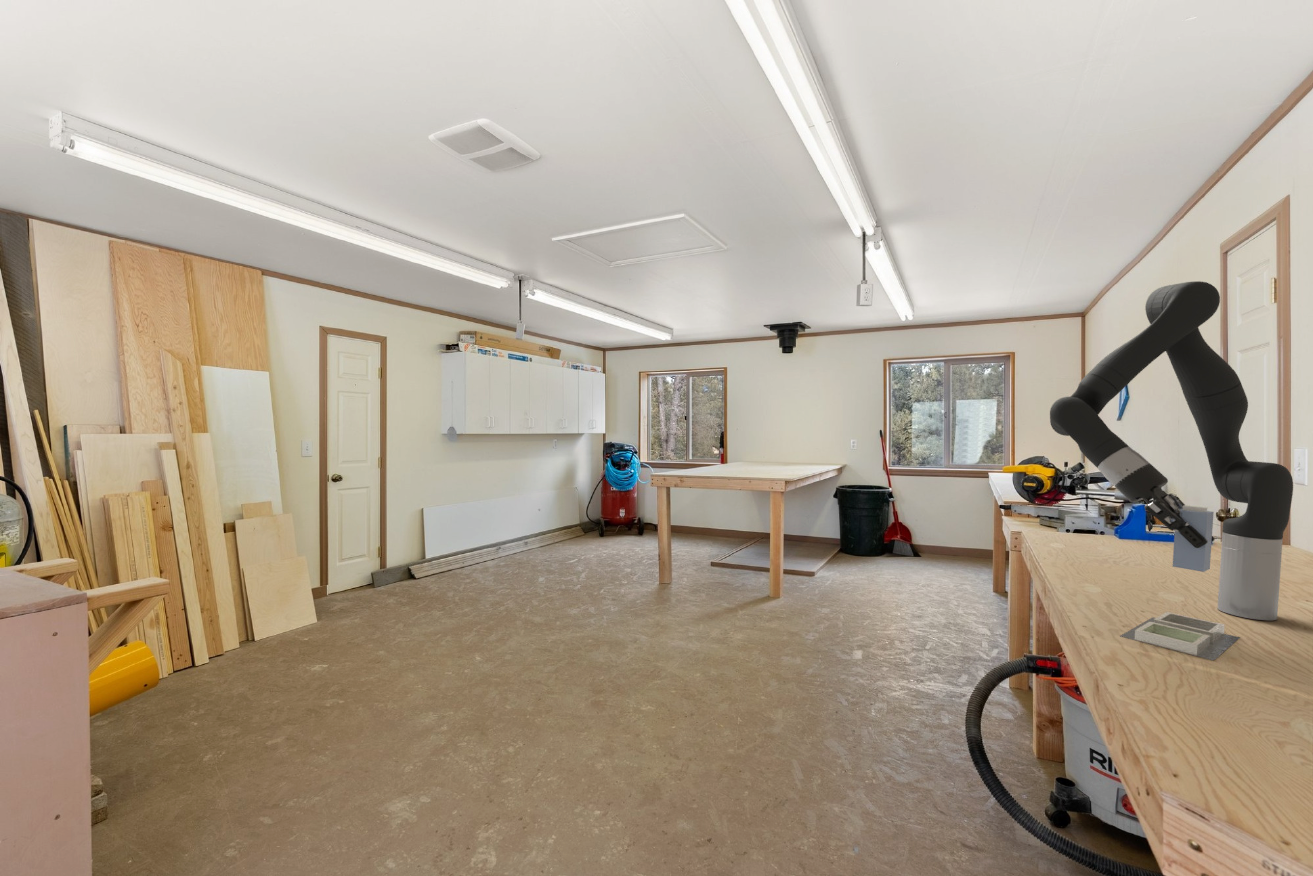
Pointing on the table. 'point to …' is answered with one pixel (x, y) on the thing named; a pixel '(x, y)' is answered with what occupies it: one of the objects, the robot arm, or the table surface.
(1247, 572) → the robot arm
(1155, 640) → the panel
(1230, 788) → the table surface
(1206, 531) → the plug
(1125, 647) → the table surface
